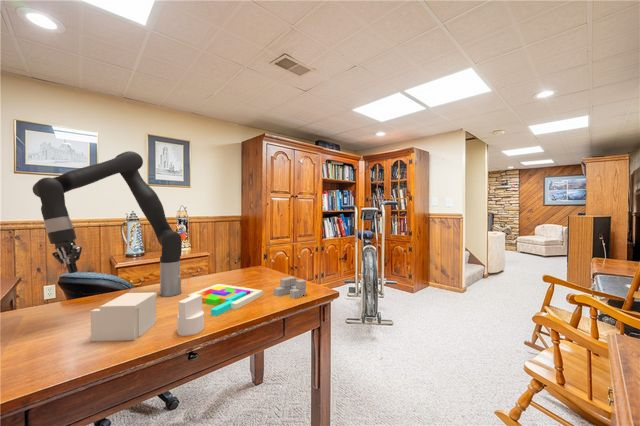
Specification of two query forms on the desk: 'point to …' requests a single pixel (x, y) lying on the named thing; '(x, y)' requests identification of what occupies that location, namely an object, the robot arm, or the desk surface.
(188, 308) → the cylinder with rectangular tab
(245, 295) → the puzzle game
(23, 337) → the desk surface
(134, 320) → the cream slotted block
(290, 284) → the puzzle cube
